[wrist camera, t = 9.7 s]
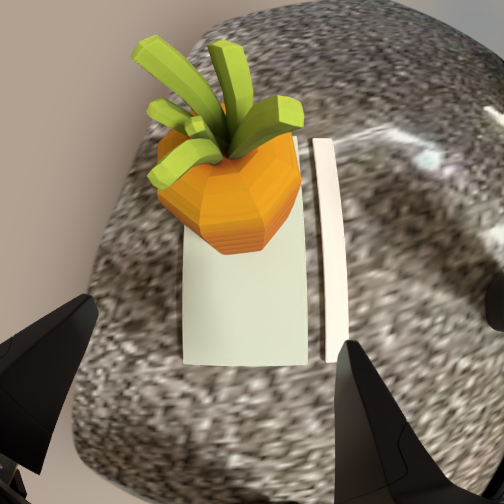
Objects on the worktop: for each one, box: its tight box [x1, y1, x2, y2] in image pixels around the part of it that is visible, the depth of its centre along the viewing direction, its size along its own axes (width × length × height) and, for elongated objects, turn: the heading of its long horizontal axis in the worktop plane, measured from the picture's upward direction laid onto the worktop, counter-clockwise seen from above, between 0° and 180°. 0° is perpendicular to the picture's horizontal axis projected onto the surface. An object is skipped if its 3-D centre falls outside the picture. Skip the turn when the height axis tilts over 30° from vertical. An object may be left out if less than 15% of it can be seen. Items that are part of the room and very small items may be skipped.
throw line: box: [312, 138, 348, 363], centre depth 19 cm, size 16×2×1 cm, turn 1°
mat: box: [182, 136, 308, 366], centre depth 19 cm, size 16×8×1 cm, turn 1°
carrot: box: [130, 35, 304, 255], centre depth 12 cm, size 5×5×15 cm
